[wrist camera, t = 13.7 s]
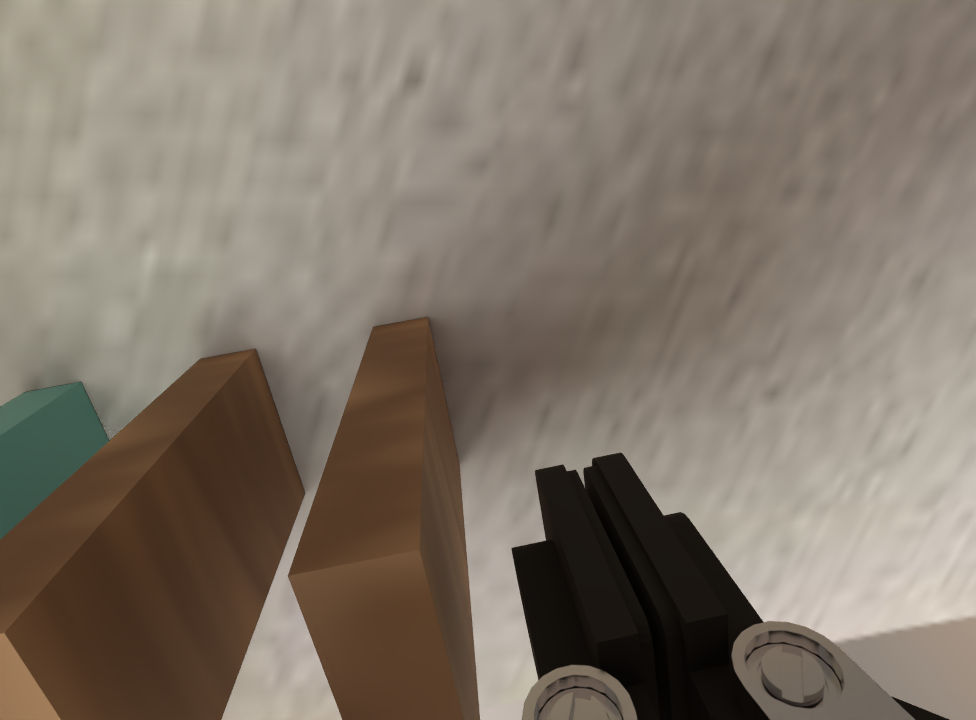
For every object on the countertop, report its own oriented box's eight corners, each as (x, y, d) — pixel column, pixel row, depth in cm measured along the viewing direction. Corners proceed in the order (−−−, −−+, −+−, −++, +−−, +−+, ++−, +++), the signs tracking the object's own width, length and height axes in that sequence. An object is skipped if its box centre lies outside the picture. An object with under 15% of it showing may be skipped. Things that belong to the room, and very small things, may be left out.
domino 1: (427, 316, 16) (420, 550, 7) (459, 463, 18) (487, 808, 9) (372, 326, 16) (288, 576, 7) (410, 473, 18) (383, 829, 8)
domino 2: (255, 348, 16) (4, 632, 7) (305, 493, 18) (163, 875, 8) (199, 358, 16) (-134, 660, 7) (255, 502, 18) (57, 898, 8)
